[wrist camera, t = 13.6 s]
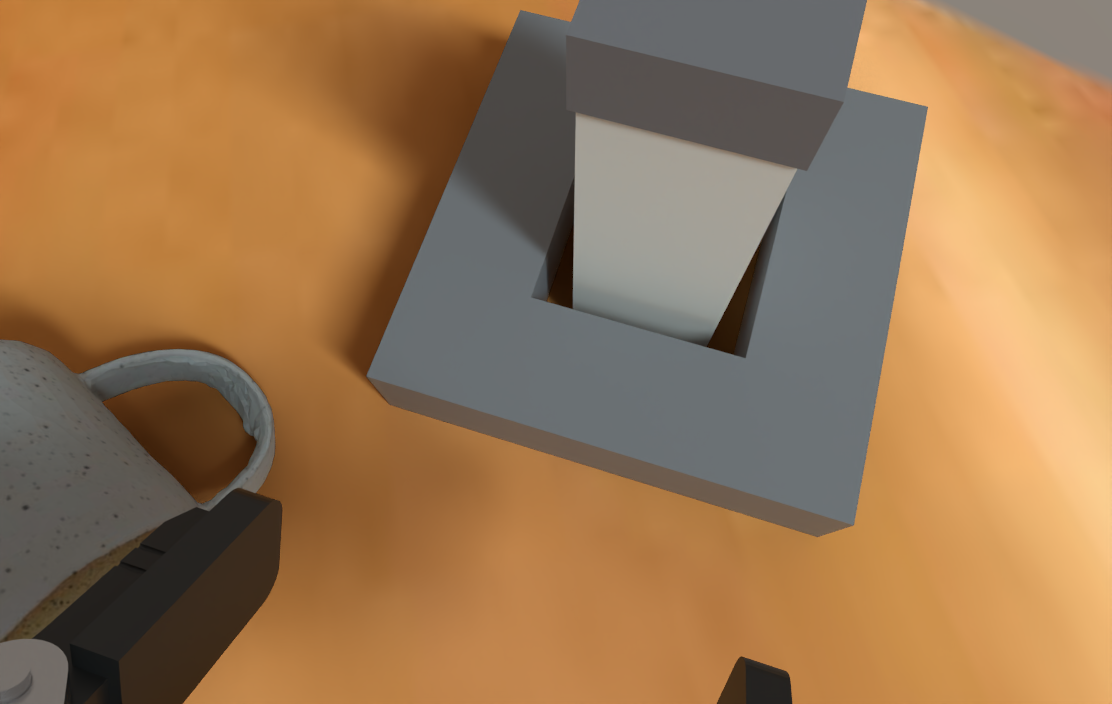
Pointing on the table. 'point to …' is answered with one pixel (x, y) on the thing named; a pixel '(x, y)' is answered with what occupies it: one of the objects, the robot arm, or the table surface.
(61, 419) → the ceramic mug
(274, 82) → the table surface
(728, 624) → the table surface
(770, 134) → the plug
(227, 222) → the table surface
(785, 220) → the socket
